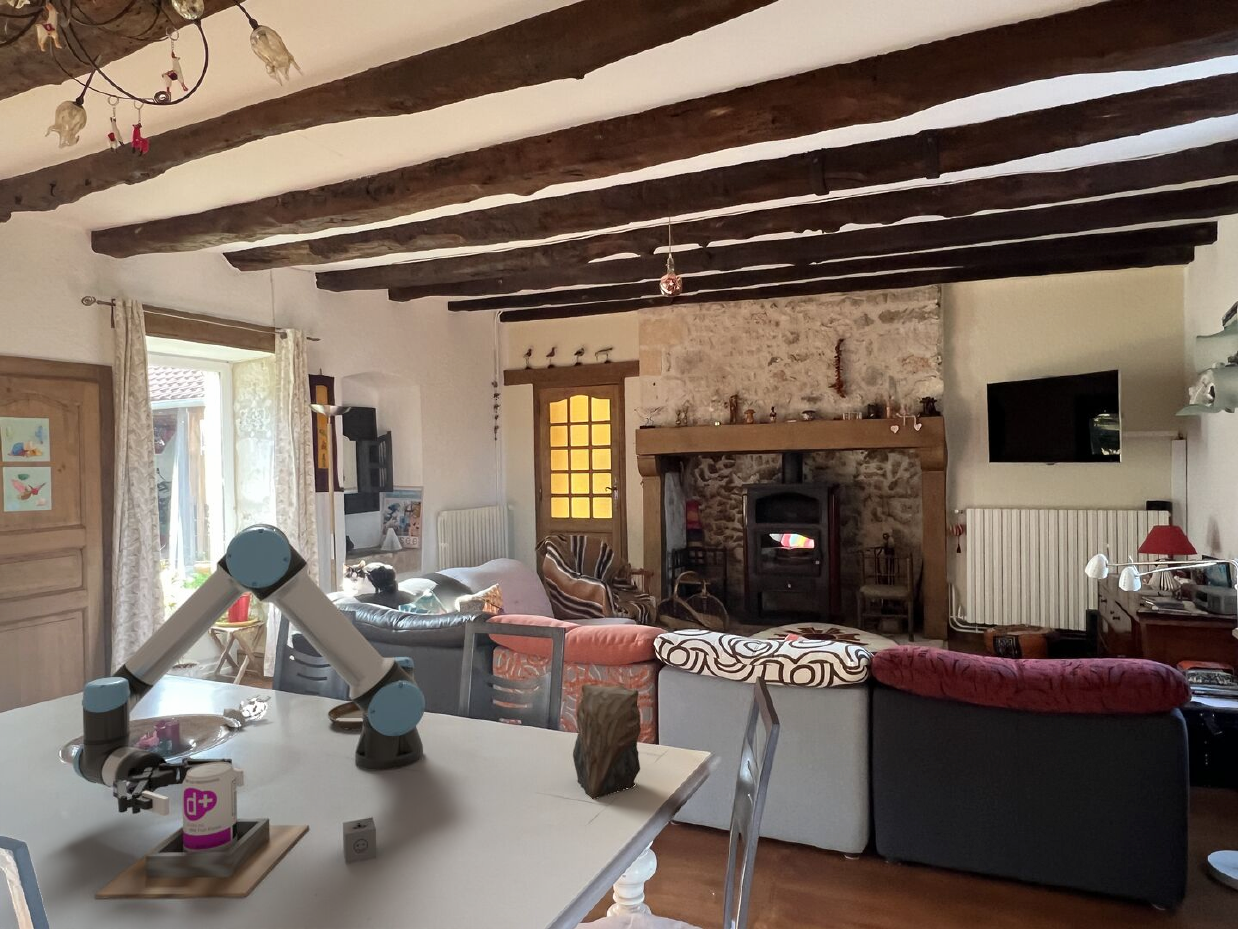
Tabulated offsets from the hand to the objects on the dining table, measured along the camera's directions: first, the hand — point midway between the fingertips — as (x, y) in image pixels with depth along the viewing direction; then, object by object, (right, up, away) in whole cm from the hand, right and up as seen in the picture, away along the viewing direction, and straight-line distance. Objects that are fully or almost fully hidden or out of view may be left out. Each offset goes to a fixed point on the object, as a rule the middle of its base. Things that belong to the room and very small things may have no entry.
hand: (205, 792), depth 137 cm
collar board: (+1, -12, 0) cm, 13 cm away
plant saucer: (+4, -13, +78) cm, 79 cm away
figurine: (-29, -13, +78) cm, 84 cm away
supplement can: (+1, -11, 0) cm, 11 cm away
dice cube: (+26, -11, +1) cm, 29 cm away
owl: (+68, -11, +28) cm, 74 cm away
